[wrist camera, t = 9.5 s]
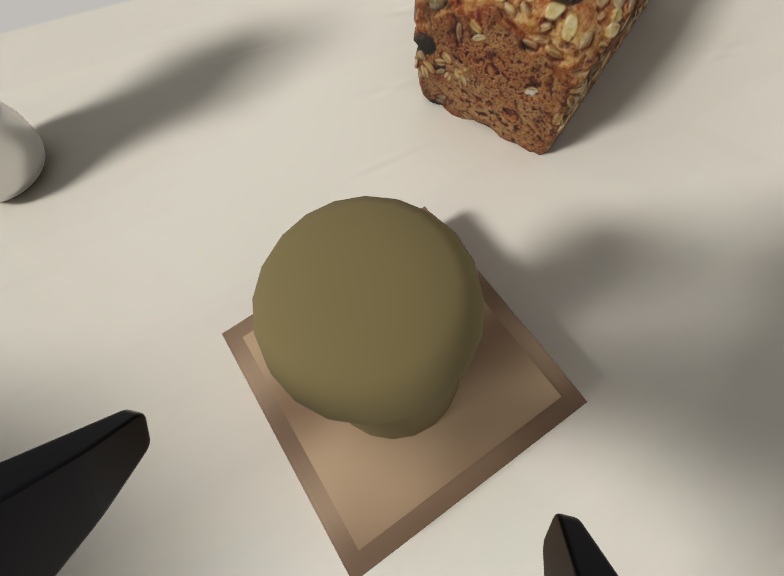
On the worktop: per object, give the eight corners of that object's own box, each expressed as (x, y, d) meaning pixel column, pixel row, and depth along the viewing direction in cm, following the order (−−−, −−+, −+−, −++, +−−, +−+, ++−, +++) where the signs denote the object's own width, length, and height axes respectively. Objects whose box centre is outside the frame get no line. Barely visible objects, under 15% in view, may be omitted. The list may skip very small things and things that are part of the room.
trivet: (563, 406, 20) (588, 401, 17) (362, 559, 18) (352, 584, 15) (423, 233, 24) (424, 204, 21) (247, 346, 22) (220, 333, 19)
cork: (432, 287, 19) (450, 118, 9) (481, 411, 17) (580, 381, 7) (312, 327, 19) (184, 200, 8) (347, 459, 17) (234, 504, 6)
